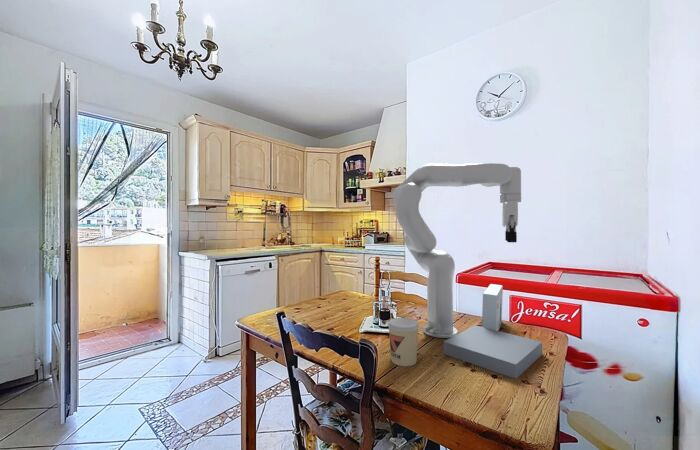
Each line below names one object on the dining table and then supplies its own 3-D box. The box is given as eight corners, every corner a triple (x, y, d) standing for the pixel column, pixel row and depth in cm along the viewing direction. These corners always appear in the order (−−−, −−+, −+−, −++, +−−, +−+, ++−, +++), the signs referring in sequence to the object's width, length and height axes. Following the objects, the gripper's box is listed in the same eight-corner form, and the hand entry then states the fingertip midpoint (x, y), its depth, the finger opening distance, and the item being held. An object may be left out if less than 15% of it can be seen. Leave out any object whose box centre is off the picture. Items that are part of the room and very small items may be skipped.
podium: (516, 379, 83) (516, 364, 82) (443, 353, 99) (443, 341, 99) (542, 354, 97) (542, 341, 97) (475, 335, 114) (475, 325, 114)
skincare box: (497, 338, 111) (497, 295, 111) (481, 335, 114) (480, 293, 114) (503, 321, 129) (502, 284, 129) (489, 319, 132) (488, 283, 132)
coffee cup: (383, 357, 97) (382, 320, 97) (407, 351, 101) (407, 315, 101) (399, 370, 89) (398, 329, 88) (425, 363, 92) (424, 324, 92)
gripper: (498, 200, 131) (499, 240, 131) (501, 197, 115) (501, 242, 115) (518, 199, 128) (519, 240, 128) (523, 196, 112) (524, 243, 112)
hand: (510, 241), depth 122 cm, fingers open, 9 cm apart
